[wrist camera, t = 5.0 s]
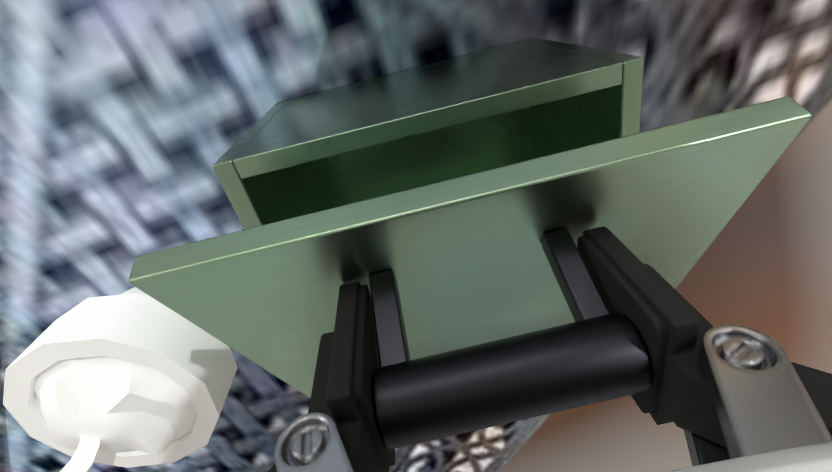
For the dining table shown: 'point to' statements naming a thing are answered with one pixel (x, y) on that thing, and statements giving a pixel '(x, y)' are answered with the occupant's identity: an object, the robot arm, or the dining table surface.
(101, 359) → the potted plant
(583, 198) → the bin lid
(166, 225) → the dining table surface
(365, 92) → the green storage bin
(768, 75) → the dining table surface
